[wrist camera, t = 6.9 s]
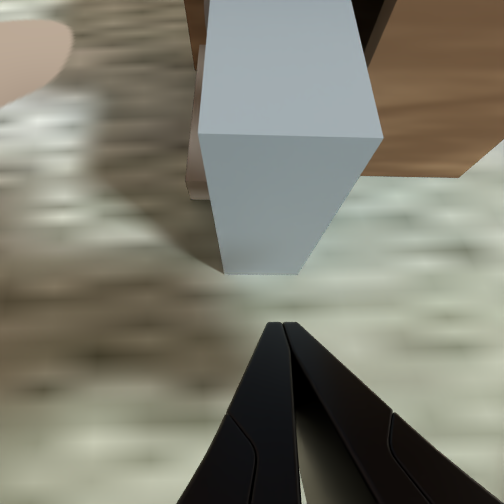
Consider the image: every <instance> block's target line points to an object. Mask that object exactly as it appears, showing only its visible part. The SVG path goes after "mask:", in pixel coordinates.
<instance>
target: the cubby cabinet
mask: <svg viewBox="0 0 504 504" xmlns="http://www.w3.org/2000/svg"><path fill="white" fill-rule="evenodd" d="M351 2H352V6H353V11H354V15H355V19H356V23H357V28H358V32H359V36H360V40H361V44H362V49H363V53H364V57H365V61H366V66H367V70H368V74H369V78H370V83H371V87H372V91H373V95H374V99H375V104H376V108H377V112H378V116H379V121H380V125H381V129H382V133H383V140H382V142H381V143H380V145H379V146H378V148H377V149H376V151H375V153H374V154H373V156H372V157H371V159H370V161H369V162H368V164H367V165H366V167H365V169H364V170H363V172H362V173H361V175H360V176H398V177H447V178H459V177H460V176H461V175H462V174H464V173H465V172H466V171H467V170H468V169H469V168H471V167H472V166H473V165H474V164H475V163H476V162H478V161H479V160H480V159H481V158H482V157H483V156H485V155H486V154H487V153H488V152H489V151H490V150H492V149H493V148H494V147H495V146H496V145H498V144H499V143H500V142H501V141H502V140H503V139H504V0H351ZM184 4H185V10H186V17H187V23H188V29H189V36H190V42H191V48H192V55H193V61H194V68H195V70H197V73H196V83H195V92H194V102H193V111H192V121H191V130H190V140H189V150H188V159H187V169H186V178H185V182H186V185H187V189H188V192H189V195H190V199H194V200H210V196H209V190H208V185H207V180H206V174H205V169H204V164H203V158H202V153H201V148H200V143H199V137H198V126H199V115H200V104H201V93H202V82H203V71H204V61H205V50H206V39H207V31H206V25H205V15H204V0H184Z"/></svg>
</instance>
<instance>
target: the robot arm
mask: <svg viewBox="0 0 504 504" xmlns="http://www.w3.org/2000/svg"><path fill="white" fill-rule="evenodd" d="M392 413H393V410H392V409H391V408H390V407H389V406H388V405H387V404H386V403H385V402H384V401H382V400H381V399H380V398H379V397H378V396H377V395H376V394H375V393H374V392H373V391H372V390H370V389H369V388H368V387H367V386H366V385H365V384H364V383H363V382H362V381H361V380H360V379H359V378H357V377H356V376H355V375H354V374H353V373H352V372H351V371H350V370H349V369H348V368H347V367H345V366H344V365H343V364H342V363H341V362H340V361H339V360H338V359H337V358H336V357H335V356H333V355H332V354H331V353H330V352H329V351H328V350H327V349H326V348H325V347H324V346H323V345H322V344H320V343H319V342H318V341H317V340H316V339H315V338H314V337H313V336H312V335H311V334H310V333H308V332H307V331H306V330H305V329H304V328H303V327H302V326H301V325H300V324H299V323H297V322H284V323H283V324H282V323H281V322H268V323H267V324H266V326H265V329H264V331H263V333H262V335H261V337H260V339H259V342H258V344H257V346H256V348H255V350H254V353H253V355H252V357H251V359H250V361H249V364H248V366H247V368H246V370H245V372H244V374H243V377H242V379H241V381H240V383H239V385H238V388H237V390H236V392H235V394H234V396H233V399H232V401H231V403H230V405H229V407H228V409H227V412H226V415H225V416H224V418H223V420H222V422H221V424H220V426H219V429H218V431H217V433H216V435H215V437H214V439H213V441H212V443H211V445H210V447H209V449H208V451H207V453H206V455H205V456H204V458H203V460H202V462H201V463H200V465H199V467H198V468H197V470H196V472H195V474H194V475H193V477H192V479H191V481H190V482H189V484H188V486H187V487H186V489H185V490H184V492H183V494H182V495H181V497H180V498H179V500H178V502H177V503H176V504H302V503H301V489H300V474H301V478H302V483H303V487H304V492H305V496H306V501H307V504H504V503H502V502H501V501H500V500H499V499H497V498H496V497H495V496H494V495H492V494H491V493H490V492H489V491H487V490H486V489H485V488H484V487H482V486H481V485H480V484H479V483H477V482H476V481H475V480H474V479H472V478H471V477H470V476H469V475H467V474H466V473H465V472H464V471H463V470H461V469H460V468H459V467H458V466H456V465H455V464H454V463H453V462H452V461H450V460H449V459H448V458H447V457H446V456H444V455H443V454H442V453H441V452H439V451H438V450H437V449H436V448H435V447H434V446H432V445H431V444H430V443H429V442H428V441H427V440H426V439H425V438H423V437H422V436H421V435H420V434H419V433H418V432H417V431H416V430H414V429H413V428H412V427H411V426H410V425H409V424H408V423H407V422H406V421H404V420H403V419H402V418H401V417H400V416H399V415H398V414H397V413H395V412H394V413H393V414H392ZM299 469H300V474H299Z"/></svg>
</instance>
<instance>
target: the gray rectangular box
mask: <svg viewBox="0 0 504 504" xmlns="http://www.w3.org/2000/svg"><path fill="white" fill-rule="evenodd" d="M204 15H205V25H206V31H207V39H206V50H205V61H204V71H203V82H202V93H201V104H200V115H199V126H198V137H199V143H200V148H201V153H202V158H203V164H204V169H205V174H206V180H207V185H208V190H209V196H210V201H211V206H212V211H213V217H214V222H215V227H216V233H217V238H218V243H219V249H220V254H221V259H222V264H223V270H224V274H243V275H298V273H299V272H300V270H301V269H302V267H303V265H304V264H305V262H306V261H307V259H308V257H309V256H310V254H311V253H312V251H313V249H314V248H315V246H316V245H317V243H318V242H319V240H320V238H321V237H322V235H323V234H324V232H325V230H326V229H327V227H328V226H329V224H330V222H331V221H332V219H333V218H334V216H335V215H336V213H337V211H338V210H339V208H340V207H341V205H342V203H343V202H344V200H345V199H346V197H347V196H348V194H349V192H350V191H351V189H352V188H353V186H354V184H355V183H356V181H357V180H358V178H359V176H360V175H361V173H362V172H363V170H364V169H365V167H366V165H367V164H368V162H369V161H370V159H371V157H372V156H373V154H374V153H375V151H376V149H377V148H378V146H379V145H380V143H381V142H382V140H383V133H382V129H381V125H380V121H379V116H378V112H377V108H376V104H375V99H374V95H373V91H372V87H371V83H370V78H369V74H368V70H367V66H366V61H365V57H364V53H363V49H362V44H361V40H360V36H359V32H358V28H357V23H356V19H355V15H354V11H353V6H352V2H351V0H204Z"/></svg>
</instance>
